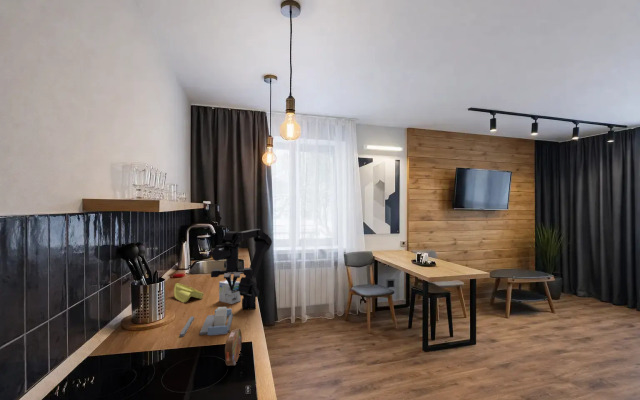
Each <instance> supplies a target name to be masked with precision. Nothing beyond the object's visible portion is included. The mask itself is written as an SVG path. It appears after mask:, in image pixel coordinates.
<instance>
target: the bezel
mask: <svg viewBox="0 0 640 400" xmlns="http://www.w3.org/2000/svg"><path fill="white" fill-rule="evenodd" d="M216 310H217V309H215V310H214V314H215V313H216ZM232 310H233V309H232V308H227V317H229V315H230V314H233V313H232V312H233V311H232ZM227 334H228V333H227V324H225V325H224V326H214V325H213V326H212V327H208V334H207V336H218V335H219V336H220V335H227Z"/></svg>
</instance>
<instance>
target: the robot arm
mask: <svg viewBox="0 0 640 400" xmlns="http://www.w3.org/2000/svg"><path fill="white" fill-rule="evenodd" d="M248 239H253V241H254V247H255V251H254V254H253V256H252V260H251V262H250V266H249V267H243V269H240V267H239V266H240V264H239V249H240V248H242V247H243V246H242V245H241V244H240V243H242V242H243V240H244V241H245V240H248ZM272 243H273V241H272V239H271V237H270V236H269V234H267V233H266V232H264V231H263V230H262V229H261V228H252V229H247V230H242V231H226V232H225V234H224V236H223V238H222V239H221V242H220V243H219V245H215V246H214V248H213V250H212V252H211V256H212V260H213V261H215V262H219V261H223V260H225V261H223V268H224V269H225V270H222V269H221V268H214V269H212V271H210V278H218V277H219V276H223V279H225V281H226V280H227V282H228V284H229V286H230V289H231V291H233V288H234V285H235V282H236V281H237V280H238V279H239V278H240V277H241V278H240V281H239V282H240V283H239V284H238V285H239V287H238V289H239V292H240V296H241V297H242V298H241V308H242V310H243V311H244V310H245V311H247V310H256V309H257V304H256V303H257V299H256V298H257V297H259V296H260V290H259V289H258V288H257V284H258V283H257V279H256V278H257V275H258V273H259V270H260V267H261V265H262V261H263V259H264V256H265V254H266V252H267V251H269V250H270V248H271V246H272ZM242 274H243V276H241V275H242ZM232 275H233V278H232ZM232 281H233V283H232Z"/></svg>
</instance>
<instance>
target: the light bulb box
mask: <svg viewBox="0 0 640 400" xmlns="http://www.w3.org/2000/svg"><path fill="white" fill-rule="evenodd" d="M231 281H232V283H233V280H231ZM218 282H219V283H218V302H221V303H225V304H230V305H233V304H235V303H238V302H242V298H241V297H242V296H240V292H239V289H238V287H239V285H238V284H239V283H240V281H237V280H236V282H235V285H234V288H233V291H231V289H230V286H229V284H228V282H227V280H226V279H225V280H221V281H218Z"/></svg>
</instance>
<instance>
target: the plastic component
mask: <svg viewBox="0 0 640 400" xmlns="http://www.w3.org/2000/svg"><path fill="white" fill-rule="evenodd" d="M204 295H205V293H204V292H202V291H200V290H197V289H195V288H194V287H190V286H189V285H185V284H183V283H178V282H177V283H175V284H174V286H173V296H174V298H175V299H176V300H178V301H179V302H181V303H185V304H186V303H187V302H188V301H189V300H190V298H195V299H199V300H202V299H203V297H204Z"/></svg>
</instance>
